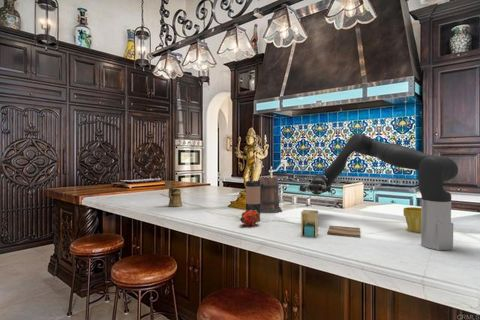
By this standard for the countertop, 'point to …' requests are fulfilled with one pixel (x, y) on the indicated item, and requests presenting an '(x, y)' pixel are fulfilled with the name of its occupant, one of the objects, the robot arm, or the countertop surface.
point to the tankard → (269, 195)
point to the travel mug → (253, 196)
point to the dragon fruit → (250, 217)
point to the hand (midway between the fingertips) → (313, 190)
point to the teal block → (309, 230)
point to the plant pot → (413, 218)
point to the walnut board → (344, 231)
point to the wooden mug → (173, 195)
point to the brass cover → (309, 220)
